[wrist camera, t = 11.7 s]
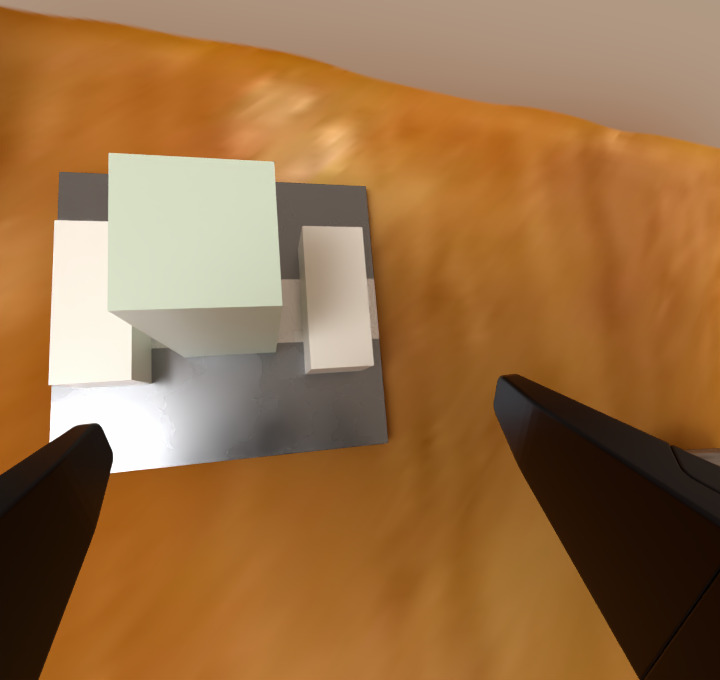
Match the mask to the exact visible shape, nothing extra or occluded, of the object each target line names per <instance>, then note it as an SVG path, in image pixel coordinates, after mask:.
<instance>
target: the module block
mask: <svg viewBox="0 0 720 680" xmlns="http://www.w3.org/2000/svg"><path fill="white" fill-rule="evenodd" d="M107 311H109V312H110V313H112V314H114V315H115V316H117V317H119V318H120V319H122V320H124V321H125V322H127V323H128V324H130V325H132V326H133V327H135V328H137V329H138V330H140V331H142V332H143V333H145V334H147V335H148V336H150V337H152V338H153V339H155V340H157V341H158V342H160V343H162V344H163V345H165V346H166V347H168V348H170V349H171V350H173V351H175V352H176V353H178V354H180V355H181V356H183V357H199V356H217V355H235V354H253V353H271V352H276V347H277V340H278V333H279V326H280V319H281V312H282V289H281V272H280V255H279V238H278V220H277V203H276V186H275V169H274V162H269V161H250V160H232V159H213V158H194V157H175V156H156V155H138V154H119V153H109V179H108V301H107Z"/></svg>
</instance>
